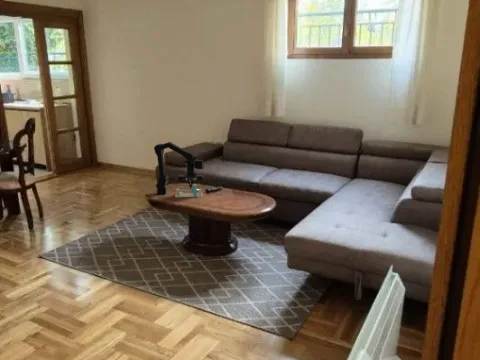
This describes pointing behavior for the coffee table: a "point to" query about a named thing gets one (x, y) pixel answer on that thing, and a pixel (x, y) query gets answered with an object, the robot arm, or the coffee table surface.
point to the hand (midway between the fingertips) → (190, 188)
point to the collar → (194, 189)
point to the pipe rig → (188, 193)
